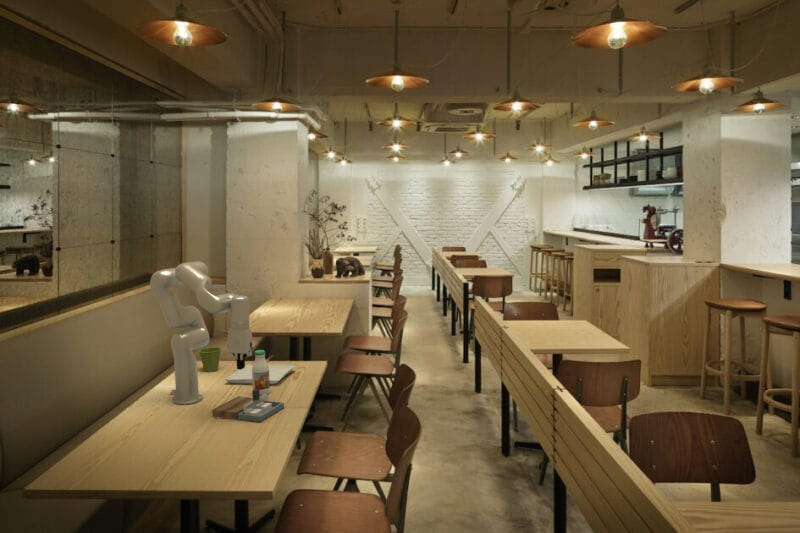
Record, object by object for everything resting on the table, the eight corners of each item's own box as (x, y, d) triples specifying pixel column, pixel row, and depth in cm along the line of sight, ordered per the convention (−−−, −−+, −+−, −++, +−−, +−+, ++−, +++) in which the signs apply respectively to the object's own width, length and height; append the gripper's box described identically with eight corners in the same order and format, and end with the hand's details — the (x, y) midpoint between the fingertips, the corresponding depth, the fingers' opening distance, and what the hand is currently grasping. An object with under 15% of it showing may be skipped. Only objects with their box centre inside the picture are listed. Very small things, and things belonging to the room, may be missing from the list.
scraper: (243, 411, 241) (242, 395, 241) (265, 399, 256) (264, 384, 256) (247, 411, 241) (246, 396, 240) (269, 399, 256) (268, 384, 255)
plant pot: (217, 366, 325) (216, 345, 324) (226, 370, 316) (225, 349, 315) (195, 370, 317) (194, 349, 316) (204, 374, 308) (203, 353, 307)
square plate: (246, 370, 316) (246, 363, 316) (296, 371, 312) (296, 364, 312) (224, 385, 290) (224, 377, 289) (278, 387, 286) (278, 379, 285)
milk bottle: (249, 394, 274) (247, 352, 272) (259, 390, 281) (257, 348, 279) (263, 396, 271) (261, 353, 269) (273, 391, 278) (271, 349, 276)
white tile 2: (255, 410, 251) (254, 405, 251) (261, 406, 255) (261, 402, 255) (265, 411, 249) (265, 407, 249) (271, 407, 254) (271, 403, 254)
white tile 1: (244, 417, 243) (244, 412, 243) (251, 412, 248) (251, 408, 248) (255, 418, 241) (255, 413, 241) (262, 414, 246) (261, 409, 246)
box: (237, 419, 241) (237, 413, 241) (262, 405, 258) (262, 400, 258) (260, 422, 238) (260, 416, 238) (284, 408, 255) (284, 402, 254)
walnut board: (212, 416, 246) (212, 409, 245) (238, 402, 262) (238, 396, 262) (237, 419, 241) (236, 412, 241) (262, 405, 258) (261, 398, 258)
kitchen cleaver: (260, 355, 345) (277, 354, 344) (261, 357, 345) (277, 356, 344) (246, 367, 321) (264, 366, 320) (246, 369, 321) (264, 368, 320)
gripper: (219, 325, 246) (220, 369, 248) (250, 328, 241) (251, 373, 243) (230, 322, 253) (231, 364, 255) (260, 325, 248) (261, 368, 250)
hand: (240, 368), depth 249 cm, fingers closed
